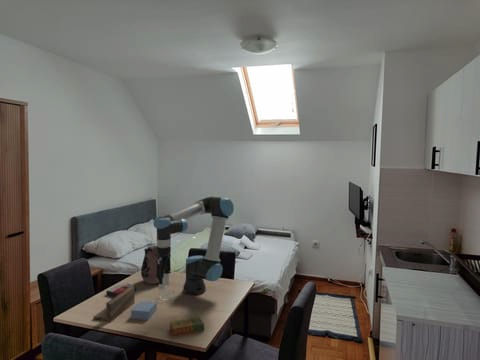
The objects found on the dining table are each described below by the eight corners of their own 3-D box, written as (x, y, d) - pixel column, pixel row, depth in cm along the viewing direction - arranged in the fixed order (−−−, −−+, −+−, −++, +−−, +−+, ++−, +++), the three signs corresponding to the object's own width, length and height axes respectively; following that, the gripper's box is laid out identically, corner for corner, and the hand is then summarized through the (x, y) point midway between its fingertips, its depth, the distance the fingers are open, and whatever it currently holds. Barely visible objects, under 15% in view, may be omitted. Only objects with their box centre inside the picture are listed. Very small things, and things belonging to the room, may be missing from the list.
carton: (169, 329, 170) (169, 321, 170) (199, 324, 176) (199, 316, 176) (173, 337, 163) (173, 329, 162) (204, 331, 169) (204, 323, 169)
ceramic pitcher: (136, 281, 237) (136, 247, 236) (162, 274, 251) (162, 242, 250) (148, 288, 224) (148, 252, 223) (175, 280, 238) (175, 247, 237)
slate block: (156, 310, 192) (156, 302, 191) (148, 320, 180) (148, 311, 179) (140, 309, 193) (140, 301, 193) (131, 319, 181) (131, 310, 181)
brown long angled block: (134, 303, 201) (134, 287, 200) (111, 321, 177) (111, 303, 177) (118, 301, 203) (118, 285, 202) (93, 319, 180) (93, 301, 179)
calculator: (105, 290, 212) (124, 281, 225) (106, 296, 213) (124, 287, 226) (117, 293, 207) (135, 284, 220) (118, 299, 207) (136, 290, 220)
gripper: (164, 241, 191) (164, 280, 193) (149, 250, 173) (149, 293, 175) (176, 242, 190) (176, 281, 191) (162, 251, 172) (162, 294, 173)
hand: (163, 287), depth 183 cm, fingers open, 6 cm apart
